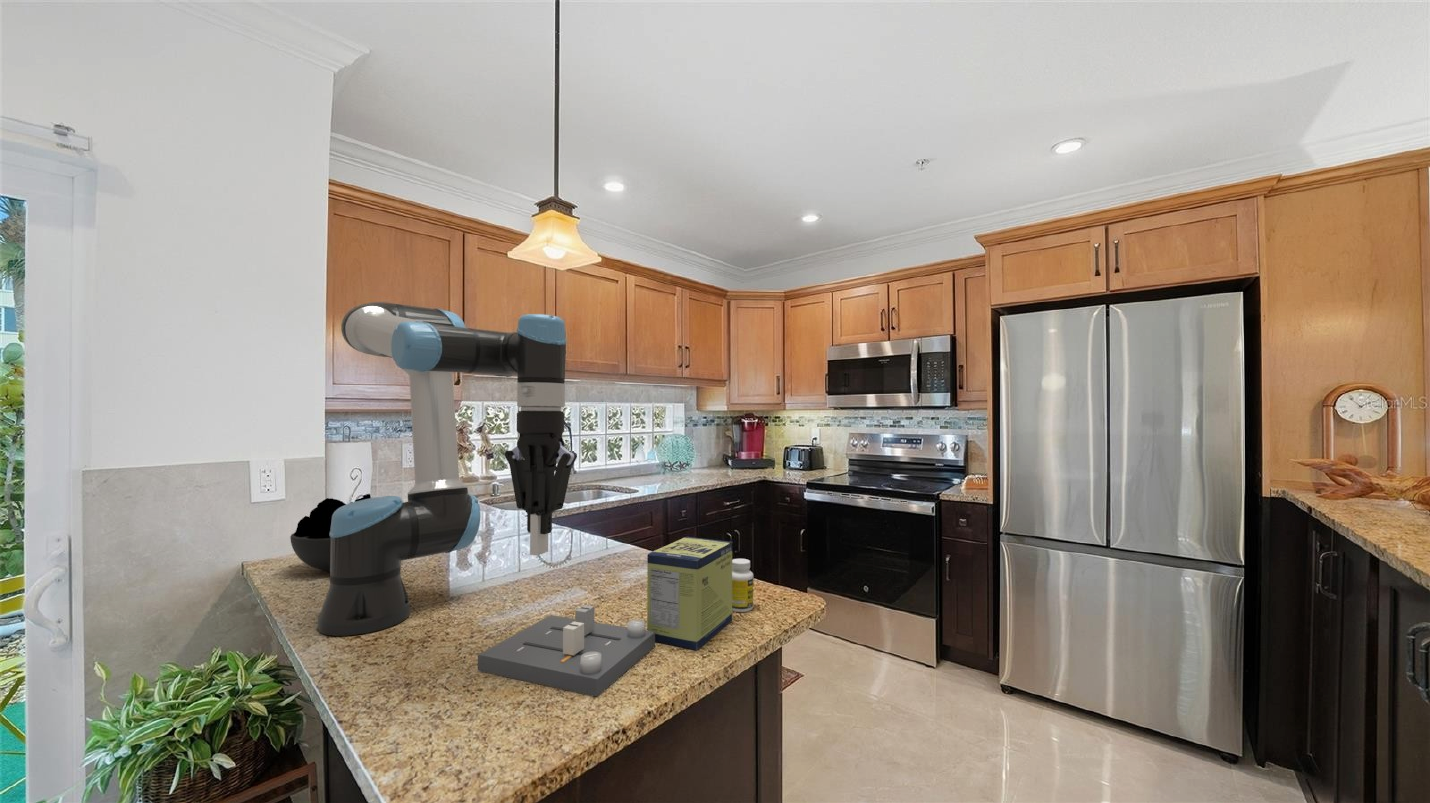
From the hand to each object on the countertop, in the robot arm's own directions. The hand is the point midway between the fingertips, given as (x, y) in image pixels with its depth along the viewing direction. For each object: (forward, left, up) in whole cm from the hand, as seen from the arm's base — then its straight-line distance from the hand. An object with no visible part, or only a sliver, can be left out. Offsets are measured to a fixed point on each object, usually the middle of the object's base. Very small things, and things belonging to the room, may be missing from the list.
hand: (539, 552), depth 89 cm
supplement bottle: (+23, +35, -18) cm, 46 cm away
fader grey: (+4, +7, -15) cm, 17 cm away
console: (+4, +3, -18) cm, 18 cm away
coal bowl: (-83, +24, -18) cm, 88 cm away
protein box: (+18, +21, -18) cm, 33 cm away
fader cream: (+7, 0, -15) cm, 16 cm away
